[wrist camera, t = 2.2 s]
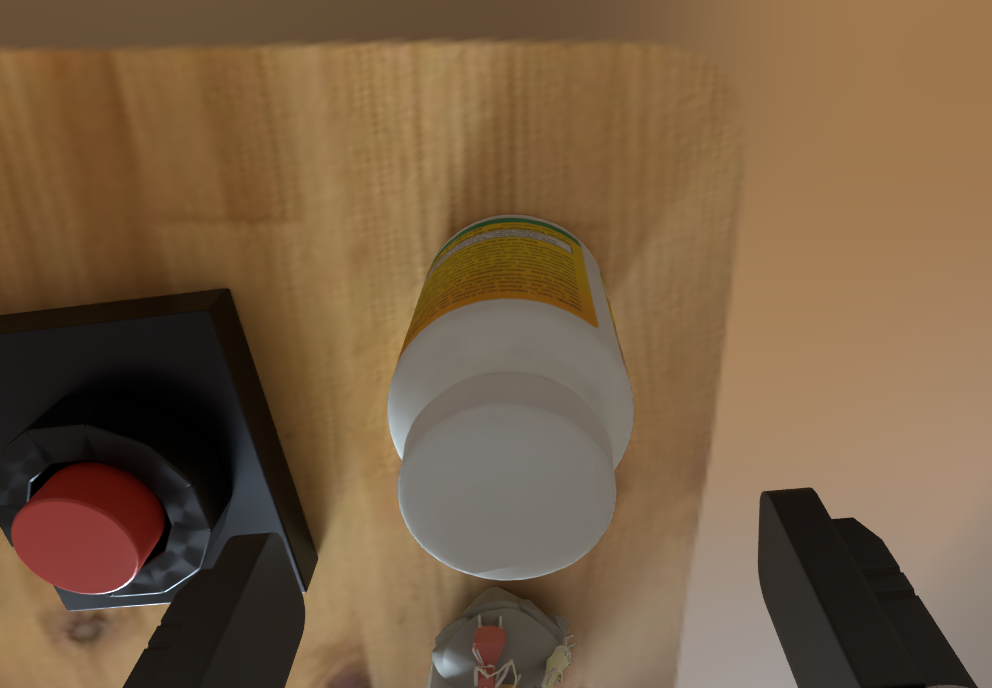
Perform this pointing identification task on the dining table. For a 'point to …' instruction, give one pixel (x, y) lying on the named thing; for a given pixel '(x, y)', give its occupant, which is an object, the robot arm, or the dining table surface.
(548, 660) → the figurine
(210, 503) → the button housing
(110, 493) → the button
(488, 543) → the supplement bottle
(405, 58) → the dining table surface
